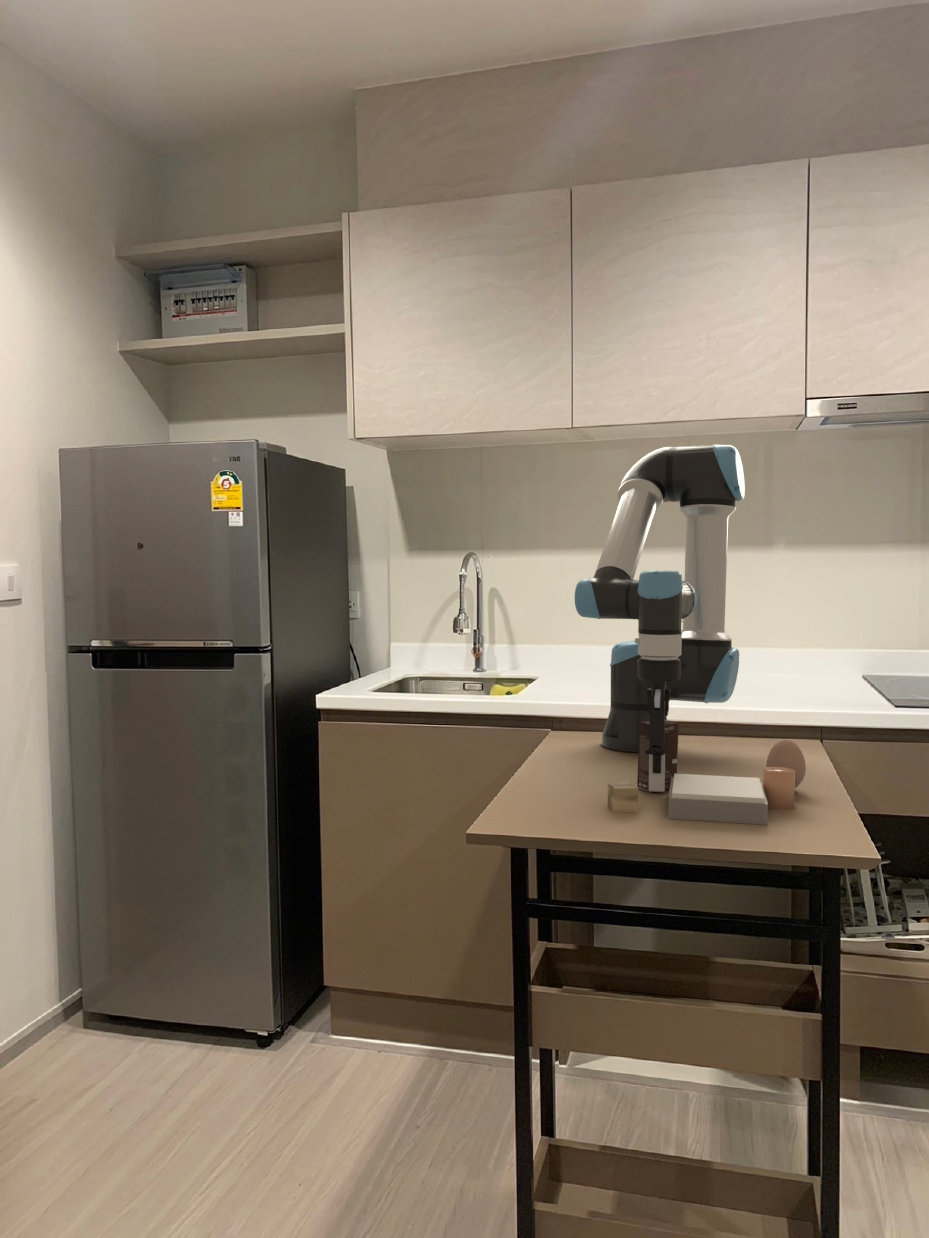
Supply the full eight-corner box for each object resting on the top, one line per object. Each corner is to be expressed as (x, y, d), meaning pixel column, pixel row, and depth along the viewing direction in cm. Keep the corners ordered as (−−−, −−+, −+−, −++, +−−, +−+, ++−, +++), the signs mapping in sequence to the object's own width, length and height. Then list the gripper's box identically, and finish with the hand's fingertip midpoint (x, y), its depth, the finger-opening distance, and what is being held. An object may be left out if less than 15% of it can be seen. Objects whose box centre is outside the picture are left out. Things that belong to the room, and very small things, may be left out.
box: (654, 793, 168) (655, 725, 168) (636, 788, 172) (637, 721, 171) (679, 788, 172) (680, 721, 171) (660, 783, 175) (661, 718, 175)
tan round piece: (761, 801, 163) (762, 766, 163) (792, 802, 162) (793, 767, 162) (763, 808, 159) (764, 772, 158) (795, 810, 157) (796, 774, 157)
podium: (671, 795, 167) (671, 772, 167) (761, 800, 163) (762, 777, 163) (668, 818, 152) (668, 793, 152) (767, 824, 149) (768, 799, 149)
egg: (764, 793, 169) (765, 741, 168) (767, 784, 175) (768, 734, 174) (804, 796, 166) (805, 744, 166) (805, 787, 172) (806, 737, 172)
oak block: (607, 806, 160) (607, 782, 160) (631, 805, 161) (631, 781, 160) (613, 812, 156) (614, 788, 156) (638, 811, 157) (638, 787, 156)
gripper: (641, 651, 181) (639, 772, 182) (634, 663, 162) (632, 798, 163) (682, 652, 179) (680, 774, 181) (679, 664, 160) (677, 800, 161)
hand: (657, 785), depth 172 cm, fingers closed on box, 7 cm apart
